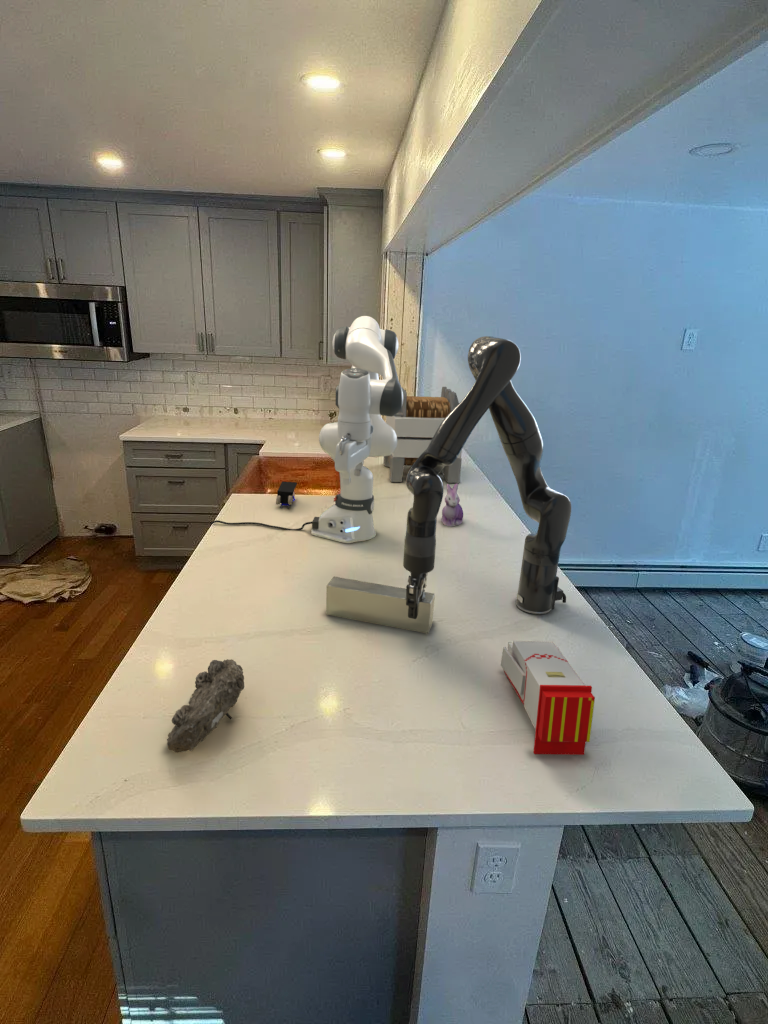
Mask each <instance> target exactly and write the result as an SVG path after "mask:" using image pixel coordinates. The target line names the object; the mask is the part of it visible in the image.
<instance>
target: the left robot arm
mask: <svg viewBox="0 0 768 1024" xmlns="http://www.w3.org/2000/svg"><path fill="white" fill-rule="evenodd" d="M331 345H332V349H333V351H334V355H335V356H336V357H337V358H339V359H342V360H344V361H345V360H348V362H349V363H350V364H351V367H350V368H346V369H344V370H342V371H341V373H340V376H339V382H338V384H337V385H336V387H335V406H336V407H337V408H338V415H337V421H335V422H330V423H325V424H324V425H323V426H322V427H321V429H320V431H319V434H318V442H319V446H320V448H321V450H322V451H323V452H324V453H325V454H327V455H328V456H329V457H330V459H332V461H333V462H334V470H335V472H338V473H339V483H340V484H339V485H340V488H339V489H340V490H339V491H338V492H337V494H336V495H335V496H334V497H333V502H334V504H333V505H331V506H329V507H328V508H326V509H325V510H323V512H321V514H320V515H319V516H314V517H313V519H312V521H307V522H304V523H303V524H302V525H301V527H299V528H287V527H283V526H278V525H277V526H276V525H271V524H267V523H262V522H256V521H243V522H241V521H240V522H226V521H223V520H218V519H217V520H213V521H211V522H210V523H209V525H213V524H216V523H220V524H223V525H229V526H233V525H234V526H235V525H237V526H240V525H255V526H256V525H257V526H263V527H267V528H272V529H277V530H278V529H279V530H284V531H302V530H303V529H304V527H305V526H307V525H311V530H310V533H311V536H315V537H319V538H323V539H326V540H330V541H336V542H339V543H343V544H352V543H357V542H365V541H368V540H372V539H373V538H375V537H376V535H377V532H376V528H375V523H374V513H373V512H374V509H375V496H374V474H373V472H372V471H371V469H369V468H368V467H366V466H365V465H364V464H365V460H366V459H368V458H384V456H390V455H391V454H392V453H393V452H394V450H395V449H396V446H397V435H396V433H395V431H394V429H393V428H392V427H391V426H389V425H388V424H387V423H386V420H384V419H383V417H384V416H385V417H386V416H391V417H392V416H394V415H395V414H396V413H398V412H399V411H400V410H401V408H402V405H403V391H402V388H403V387H402V385H401V382H400V380H399V377H398V376H399V375H398V372H397V369H396V364H395V358H396V356H397V354H398V352H399V347H400V345H399V339H398V337H397V334H396V332H395V331H394V330H390V329H387V328H386V329H382V328H380V324H379V323H378V321H377V320H376V319H375V318H373V317H372V316H369V315H361V316H359V317H357V318H355V319H354V320H353V322H352V323H351V325H350V327H349V326H341V327H338V328H337V329H336V330H335V332H334V335H333V337H332V343H331ZM379 375H380V376H381V377H382V379H380V378H379V377H380V376H379ZM401 387H402V388H401ZM382 416H383V417H382Z"/></svg>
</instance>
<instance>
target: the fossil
mask: <svg viewBox="0 0 768 1024" xmlns="http://www.w3.org/2000/svg"><path fill="white" fill-rule="evenodd" d="M243 670H244V669H243V667H242V665H240V664H237V662H236V661H235V660H234V659H232V658H231V659H227V658H226V659H224V660H223V661H222V660H217V659H212V660H211V661H210V663H209V665H208V666H207V671H201V672H199V673H198V674H197V675H196V676H195V680H194V684H195V685H194V687H195V689H194V690H193V693H192V694H191V697H190V698H189V700H188V704H184V705H182V706H181V707H180V709H177V710H176V711H175V713H174V715H173V716H172V718H171V723H172V724H173V727H172V730H171V731H170V732H168V734H167V738H166V741H167V742H166V745H167V749H168V750H169V751H173V752H174V753H176V754H178V753H182V752H188V751H189V752H192V751H193V750H195V748H196V747H197V746H199V744H200V743H201V742H203V741H204V740H205V739H206V738H207V737H208V736H209V735H210V734H211V733H212V732H214V730H215V729H217V727H218V726H219V724H220V722H221V721H222V720H223V719H224V718H225V716H226V717H227V719H229V720H233V717H232V715H230V714H229V710H230V709H231V708H234V706H235V704H236V703H237V702H238V699H239V697H240V695H241V693H242V691H243V690H245V689H244V688H245V675H244V671H243Z"/></svg>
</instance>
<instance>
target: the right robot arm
mask: <svg viewBox="0 0 768 1024" xmlns="http://www.w3.org/2000/svg"><path fill="white" fill-rule="evenodd" d="M467 353H468V354H467V364H468V367H469V370H470V372H471V374H472V376H473V378H474V380H475V381H474V383H473V385H472V387H471V388H470V390H469V391H468V393H467V394H466V395H465V396H464V398H463V399H462V400H461V401H460V402H459V404H458V405H457V406H456V407H455V408H454V409H453V410H452V411H451V412H450V413H449V414H448V415H447V416H446V417H445V419H444V420H443V421H442V423H441V424H440V426H439V428H438V429H437V431H436V433H435V435H434V436H433V438H432V440H431V442H430V444H429V446H428V448H427V449H426V450H425V451H424V452H423V453H422V454H421V455H420V457H419V458H418V459H417V460H416V461H415V463H414V464H413V465H412V466H411V467H410V468H409V470H408V472H407V474H406V479H405V486H406V488H407V489H408V491H409V492H410V493H411V494H412V495H413V503H412V507H411V508H409V510H408V512H407V516H406V528H405V529H406V530H405V535H404V544H403V561H402V566H403V568H404V570H406V571H407V572H409V573H410V575H409V574H408V578H407V583H408V584H406V586H405V589H406V605H407V606H409V608H408V617H409V618H412V619H416V618H417V614H418V605H419V597H420V596H421V595H422V592H426V590H425V589H426V588H427V584H428V583H427V582H428V574H429V573H430V572H433V570H434V569H435V561H436V560H435V559H436V548H437V547H436V546H437V537H436V536H437V535H436V534H437V523H438V522H437V521H438V515H439V512H440V509H441V505H442V503H443V498H444V482H443V480H442V478H441V476H440V474H441V470H442V469H443V468H444V467H445V466H450V465H452V464H453V463H454V461H455V460H456V458H457V457H458V455H459V453H460V451H461V450H462V451H463V448H464V446H465V444H466V443H467V441H468V439H469V437H470V436H471V434H472V432H473V431H474V430H475V428H476V426H477V425H478V424H479V422H480V421H481V419H482V418H483V417H484V415H485V414H486V412H487V411H488V410H489V413H490V415H491V418H492V419H491V420H492V421H493V424H494V426H495V429H496V431H497V435H498V437H499V438H498V439H499V441H500V443H501V446H502V449H503V451H504V454H505V455H506V458H507V460H508V463H509V465H510V468H511V471H512V474H513V476H514V479H515V481H516V485H517V488H518V492H519V496H520V501H521V505H522V508H523V510H524V512H525V514H526V515H527V517H529V518H530V519H531V520H532V521H535V522H537V523H538V526H537V527H538V528H537V531H536V532H531V533H529V534H527V535H526V536H525V538H524V543H523V544H524V545H523V552H522V560H521V566H520V572H519V574H520V575H519V581H518V588H517V593H516V600H515V605H516V607H517V608H518V609H519V610H521V611H523V612H524V613H527V614H529V615H530V614H531V615H539V616H540V615H541V616H542V615H547V614H549V613H550V612H551V611H552V610H555V604H556V601H562V604H565V603H567V596H566V593H565V592H564V590H563V589H562V588H560V587H559V581H560V578H559V576H558V575H557V573H558V569H559V561H560V555H561V549H562V546H563V545H564V543H565V541H566V538H567V534H568V530H569V525H570V520H571V515H572V502H571V500H570V498H569V497H568V496H567V495H565V494H563V492H559V491H557V490H555V489H552V488H551V487H550V486H549V485H548V484H547V481H546V479H545V478H544V474H543V472H542V468H541V463H542V458H543V453H544V441H543V437H542V434H541V432H540V428H539V426H538V423H537V421H536V419H535V417H534V415H533V413H532V412H531V411H530V409H529V407H528V406H527V404H526V403H525V402H524V400H523V399H522V398H521V396H520V395H519V394H518V393H517V391H516V389H515V386H514V385H513V382H512V379H513V378H514V376H515V375H516V374H517V372H518V370H519V368H520V365H521V361H522V355H521V350H520V347H518V345H517V344H516V342H514V341H512V340H510V339H505V338H501V337H496V336H488V335H486V336H480V337H477V338H476V339H475V340H473V342H472V343H471V344H470V347H469V348H468V352H467ZM417 591H419V593H417ZM411 599H413V600H411Z"/></svg>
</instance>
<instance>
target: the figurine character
mask: <svg viewBox="0 0 768 1024" xmlns="http://www.w3.org/2000/svg"><path fill="white" fill-rule="evenodd" d="M297 484H298V482H296V481H295V482H294V481H284V480H283V481H281V483H280V485H279V487H278V489H277V494H276V498H275V499H276V500H275V503H276V505H279V508H280V509H283V506H285V507H287V509H290V508H291V506H292V505H293V503H294V502H295V501H296V497H295V496H296V492H295V489H296V488H297Z"/></svg>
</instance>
